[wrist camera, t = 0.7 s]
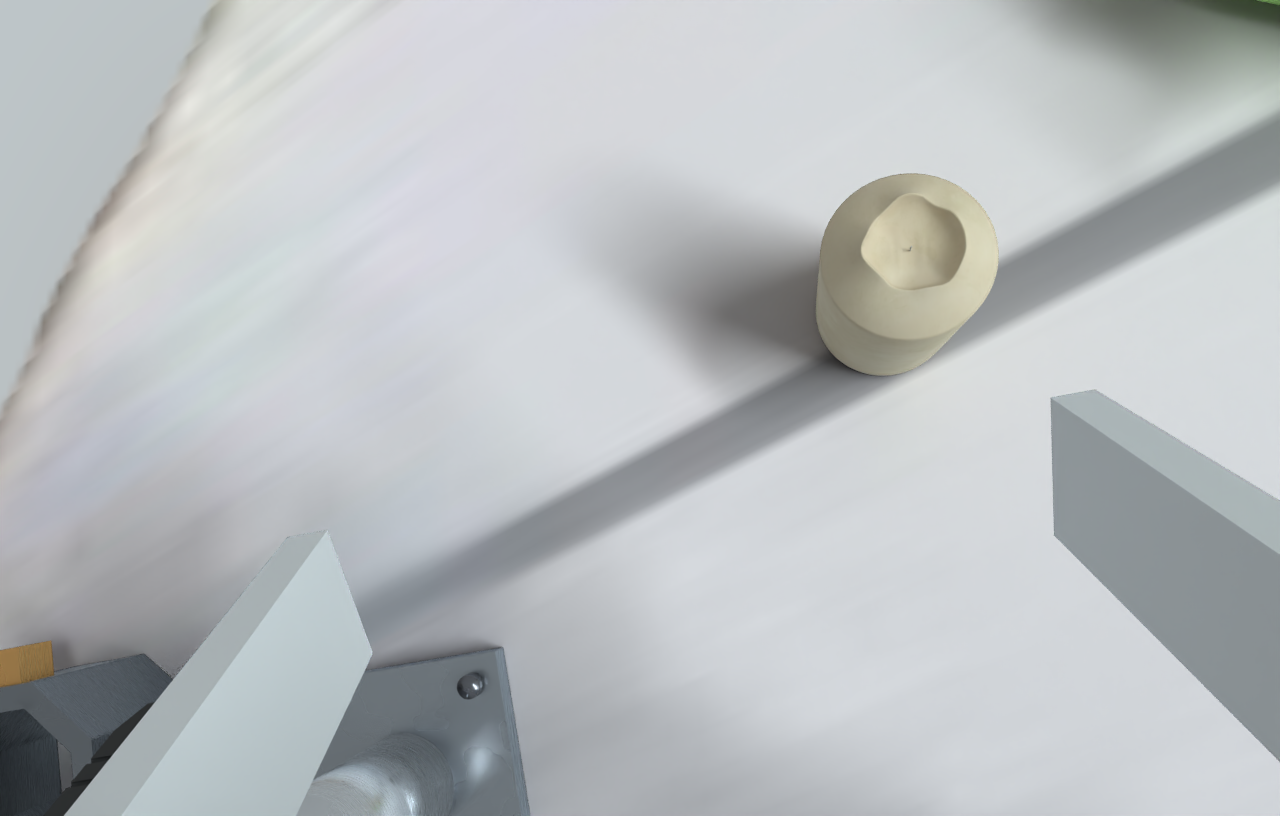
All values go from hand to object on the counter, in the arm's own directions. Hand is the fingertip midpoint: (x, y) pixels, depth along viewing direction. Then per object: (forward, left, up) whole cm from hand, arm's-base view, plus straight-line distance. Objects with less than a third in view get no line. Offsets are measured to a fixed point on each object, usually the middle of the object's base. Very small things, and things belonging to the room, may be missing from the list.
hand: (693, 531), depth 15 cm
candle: (+7, -7, -21) cm, 23 cm away
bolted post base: (-9, +17, -20) cm, 28 cm away
